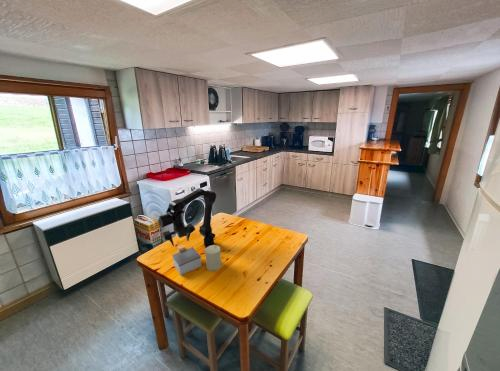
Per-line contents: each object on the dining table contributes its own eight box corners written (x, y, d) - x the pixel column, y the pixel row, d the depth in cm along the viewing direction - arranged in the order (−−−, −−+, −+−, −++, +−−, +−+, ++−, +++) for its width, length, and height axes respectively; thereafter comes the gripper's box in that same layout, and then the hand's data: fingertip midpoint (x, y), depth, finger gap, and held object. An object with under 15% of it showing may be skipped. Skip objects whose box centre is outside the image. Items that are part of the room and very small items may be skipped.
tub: (193, 256, 142) (192, 248, 140) (201, 265, 133) (200, 257, 131) (173, 264, 134) (172, 256, 133) (180, 275, 125) (179, 266, 123)
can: (224, 262, 135) (222, 245, 132) (217, 272, 127) (215, 254, 123) (211, 259, 138) (209, 243, 134) (203, 268, 130) (201, 251, 126)
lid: (190, 245, 143) (189, 241, 142) (200, 257, 131) (200, 253, 130) (170, 252, 136) (169, 248, 135) (179, 266, 123) (178, 262, 122)
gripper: (165, 231, 120) (169, 255, 125) (197, 221, 131) (199, 243, 136) (160, 223, 129) (164, 246, 134) (190, 215, 139) (192, 236, 144)
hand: (180, 243), depth 137 cm, fingers open, 9 cm apart
